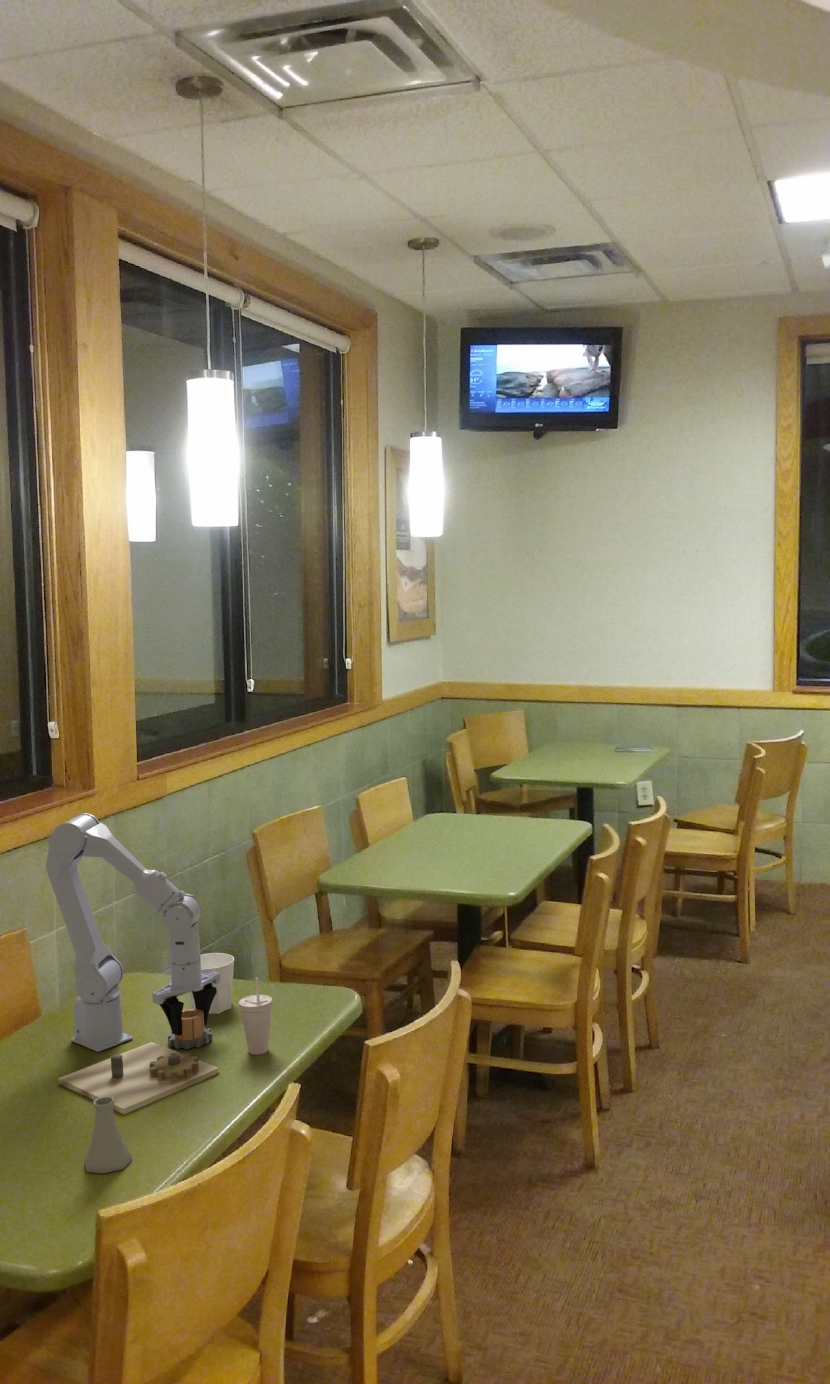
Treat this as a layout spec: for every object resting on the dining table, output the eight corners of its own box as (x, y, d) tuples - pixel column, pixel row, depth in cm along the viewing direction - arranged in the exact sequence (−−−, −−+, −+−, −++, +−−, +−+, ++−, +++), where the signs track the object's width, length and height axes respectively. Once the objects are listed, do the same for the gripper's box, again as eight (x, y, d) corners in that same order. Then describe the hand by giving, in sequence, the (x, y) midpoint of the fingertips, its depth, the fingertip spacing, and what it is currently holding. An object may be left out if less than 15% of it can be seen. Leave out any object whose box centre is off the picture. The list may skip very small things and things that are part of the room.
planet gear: (159, 1042, 227) (157, 1016, 226) (194, 1028, 233) (192, 1003, 232) (186, 1052, 221) (184, 1025, 221) (220, 1038, 227) (219, 1012, 227)
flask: (88, 1154, 184) (84, 1092, 183) (135, 1150, 185) (131, 1088, 184) (79, 1177, 177) (74, 1113, 176) (128, 1173, 178) (124, 1109, 177)
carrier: (58, 1083, 211) (56, 1059, 210) (152, 1047, 225) (150, 1024, 225) (123, 1114, 197) (122, 1088, 197) (218, 1073, 212) (217, 1049, 211)
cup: (189, 1000, 249) (186, 955, 248) (237, 997, 250) (235, 951, 249) (186, 1018, 239) (182, 971, 238) (235, 1014, 240) (233, 967, 239)
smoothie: (269, 1058, 218) (264, 984, 216) (236, 1057, 219) (231, 983, 217) (280, 1044, 224) (275, 972, 222) (247, 1043, 225) (243, 971, 224)
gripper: (166, 975, 217) (171, 1046, 219) (228, 954, 228) (232, 1022, 229) (143, 967, 222) (148, 1037, 223) (205, 947, 233) (209, 1014, 234)
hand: (189, 1029), depth 227 cm, fingers closed on planet gear, 5 cm apart
